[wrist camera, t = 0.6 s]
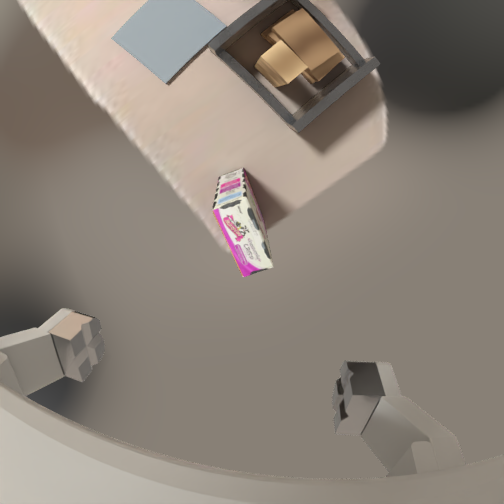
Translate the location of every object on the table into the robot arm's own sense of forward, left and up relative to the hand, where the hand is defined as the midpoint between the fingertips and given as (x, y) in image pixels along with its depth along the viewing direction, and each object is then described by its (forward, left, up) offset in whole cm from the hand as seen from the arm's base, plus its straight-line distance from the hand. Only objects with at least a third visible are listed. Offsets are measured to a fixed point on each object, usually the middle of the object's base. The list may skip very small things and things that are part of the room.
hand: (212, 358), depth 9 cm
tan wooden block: (-4, +14, -46) cm, 48 cm away
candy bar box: (+9, -6, -46) cm, 47 cm away
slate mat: (-22, +7, -46) cm, 52 cm away
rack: (-4, +18, -46) cm, 50 cm away
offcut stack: (-4, +21, -46) cm, 51 cm away
